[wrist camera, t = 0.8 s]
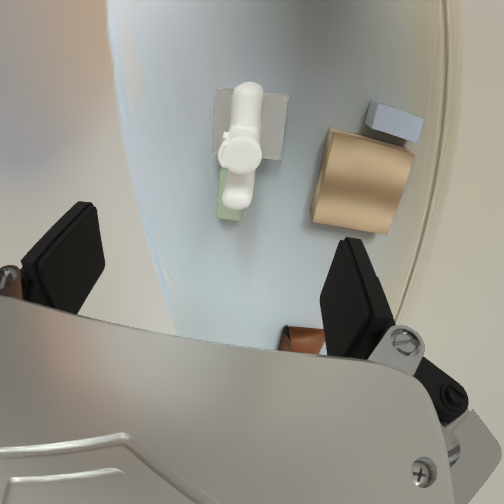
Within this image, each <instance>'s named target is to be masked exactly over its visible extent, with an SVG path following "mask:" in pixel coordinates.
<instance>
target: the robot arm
mask: <svg viewBox="0 0 504 504" xmlns="http://www.w3.org/2000/svg"><path fill="white" fill-rule="evenodd" d="M21 263H22V266H23V267H22V268H21V269H19V268H18V267H17V266H14V265H7V266H3V267H1V268H0V504H468V503H469V501H470V500H471V499H472V498H473V497H474V496H475V494H476V493H477V492H478V491H479V489H480V488H481V487H482V486H483V484H484V483H485V482H486V480H487V479H488V478H489V476H490V475H491V474H492V472H493V471H494V470H495V468H496V466H497V465H498V464H499V462H500V460H501V454H502V452H501V447H500V445H499V443H498V441H497V440H496V439H495V437H494V436H493V435H492V434H491V432H490V431H489V429H488V428H487V427H486V425H485V424H484V423H483V421H482V420H481V419H480V417H479V416H478V415H477V414H476V412H475V411H474V410H473V409H472V410H471V411H469V410H468V408H467V407H468V396H467V393H466V391H465V390H464V388H463V387H462V386H461V385H460V384H459V383H458V382H456V381H455V380H454V379H452V378H451V377H450V376H448V375H447V374H446V373H445V372H443V371H442V370H440V369H439V368H438V367H437V366H435V365H434V364H433V363H431V362H430V361H429V360H427V359H426V358H425V357H423V355H424V351H425V345H424V342H423V340H422V338H421V337H420V335H419V334H418V333H417V332H416V331H414V330H413V329H411V328H409V327H408V326H404V325H396V324H395V321H394V318H393V315H392V313H391V310H390V307H389V304H388V302H387V299H386V296H385V294H384V291H383V288H382V286H381V283H380V281H379V279H378V277H377V276H376V274H375V271H374V269H373V266H372V264H371V261H370V259H369V257H368V254H367V252H366V249H365V247H364V245H363V242H362V240H361V239H356V238H350V237H346V238H345V239H344V240H340V242H339V244H338V247H337V250H336V253H335V255H334V258H333V261H332V264H331V267H330V270H329V273H328V275H327V278H326V281H325V284H324V286H323V289H322V292H321V295H320V307H321V314H322V320H323V327H324V334H325V342H326V349H327V355H319V354H307V353H296V352H287V351H278V350H269V349H260V348H252V347H244V346H237V345H230V344H223V343H216V342H210V341H203V340H197V339H191V338H185V337H180V336H174V335H169V334H163V333H158V332H153V331H148V330H143V329H138V328H133V327H129V326H124V325H119V324H115V323H111V322H106V321H102V320H97V319H93V318H89V317H85V316H81V315H78V314H77V313H78V312H79V310H80V308H81V306H82V305H83V303H84V301H85V300H86V298H87V296H88V295H89V293H90V291H91V290H92V288H93V286H94V285H95V283H96V282H97V280H98V278H99V277H100V275H101V273H102V272H103V270H104V268H105V259H104V253H103V247H102V241H101V235H100V230H99V222H98V215H97V209H96V207H94V206H93V204H92V203H91V202H81V201H79V202H77V203H76V204H75V205H74V206H73V207H72V208H71V209H70V210H69V211H67V212H66V213H65V214H64V215H63V216H62V217H61V218H60V219H59V220H58V221H57V222H56V223H55V224H54V225H53V226H52V228H50V230H49V231H47V233H46V234H45V235H44V236H43V237H42V238H41V239H40V240H39V241H38V242H37V243H36V244H35V245H34V246H33V248H32V249H31V250H30V251H29V252H28V253H27V254H26V255H25V256H24V257H23V259H22V260H21Z"/></svg>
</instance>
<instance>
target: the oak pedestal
mask: <svg viewBox="0 0 504 504" xmlns="http://www.w3.org/2000/svg"><path fill="white" fill-rule="evenodd" d="M414 157H415V155H414V154H412V153H411V152H410V151H409V150H407V149H406V148H404V147H400V146H397V145H394V144H390V143H387V142H384V141H380V140H376V139H373V138H369V137H365V136H361V135H357V134H353V133H349V132H345V131H341V130H337V129H332V128H330V129H329V134H328V138H327V143H326V147H325V151H324V156H323V160H322V164H321V168H320V172H319V177H318V181H317V185H316V189H315V193H314V197H313V201H312V205H311V209H310V212H311V216H312V221H313V222H316V223H322V224H328V225H333V226H339V227H345V228H351V229H356V230H362V231H367V232H373V233H378V234H384V235H387V233H388V230H389V228H390V225H391V222H392V220H393V217H394V215H395V212H396V209H397V207H398V204H399V201H400V198H401V196H402V193H403V190H404V187H405V184H406V181H407V178H408V175H409V172H410V169H411V166H412V163H413V160H414Z"/></svg>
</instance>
